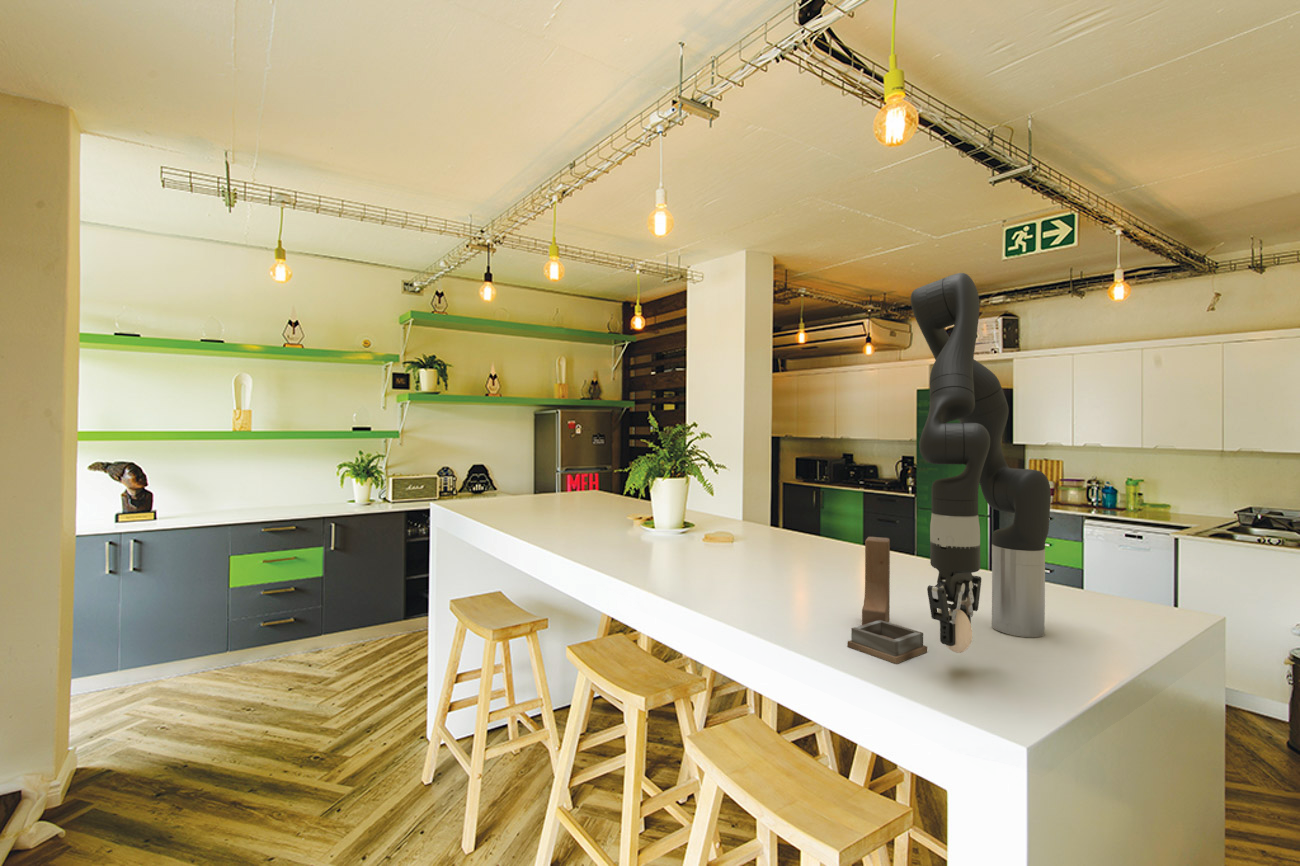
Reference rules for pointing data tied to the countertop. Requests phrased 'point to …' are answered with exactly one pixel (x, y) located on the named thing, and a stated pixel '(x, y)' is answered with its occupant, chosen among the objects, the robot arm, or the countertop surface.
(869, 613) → the wooden block
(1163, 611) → the countertop surface
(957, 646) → the egg
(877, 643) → the holder
